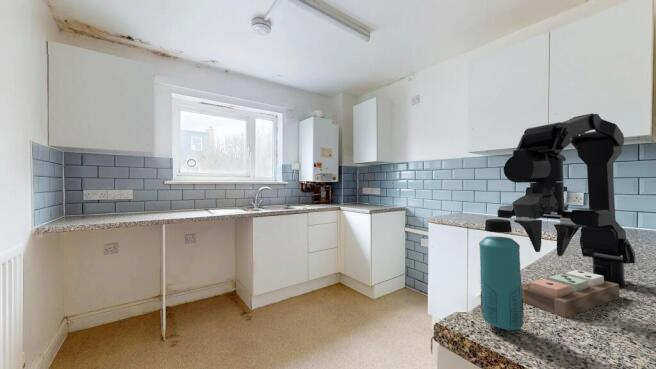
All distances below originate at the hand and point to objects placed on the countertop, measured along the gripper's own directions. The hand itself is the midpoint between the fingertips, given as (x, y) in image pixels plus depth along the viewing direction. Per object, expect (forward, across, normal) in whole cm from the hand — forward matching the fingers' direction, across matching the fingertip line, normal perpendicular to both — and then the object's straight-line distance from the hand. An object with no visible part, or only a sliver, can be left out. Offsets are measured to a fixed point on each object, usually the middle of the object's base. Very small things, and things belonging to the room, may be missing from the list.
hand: (548, 253), depth 57 cm
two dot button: (+9, 0, +14) cm, 17 cm away
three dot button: (+9, 0, +7) cm, 11 cm away
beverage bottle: (+11, +2, -19) cm, 22 cm away
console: (+11, 0, +7) cm, 13 cm away
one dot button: (+9, 0, 0) cm, 9 cm away
